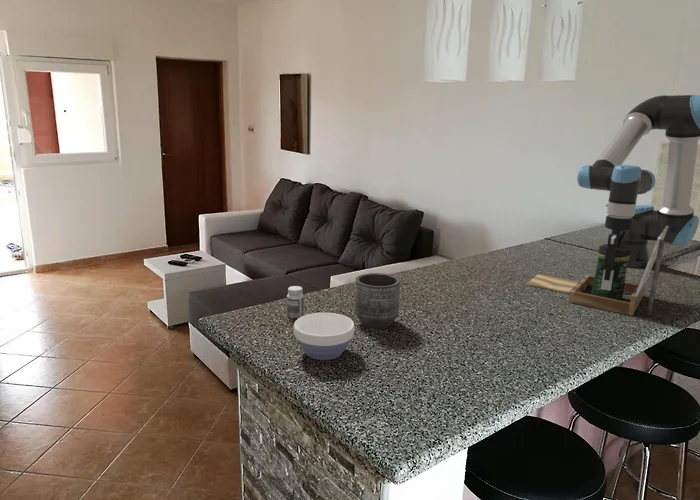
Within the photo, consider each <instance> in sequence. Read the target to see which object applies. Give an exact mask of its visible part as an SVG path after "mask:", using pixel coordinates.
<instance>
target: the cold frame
mask: <svg viewBox="0 0 700 500" xmlns="http://www.w3.org/2000/svg"><path fill="white" fill-rule="evenodd" d="M667 229H668V226H666V227H665V229H664V230H663V231H662V233H661V234H660V236H659V237H658V239H657V241H655V244H654V246H653V249H652V252H651V254H650V255H649V258H650V259H649V261H648V264H647V266H646V267H645V270H644V272H643V274H642V276H641V279H640V281H639V283H633V282H627V281H625V283H624V292H623V294H627V295H631V296H630V301H629V302H628V301H625V300H615V299H610V298H605V297H600V296H595V295H591V294H589V293H584V291H585V290H586V289H587V288H588V287H590V288H593V283H594V279H595V275H594V276H593V275H589V274H586V275H584V277H583V278H582V279H581V280H580V281H578V282H579V283H578V284H577V285H576V286H575V287H574V288H573V289H572V290H571V291H570V293H569V296H568V303H571V304H575V305H576V304H577V305H581V306H584V307H585V306H586V307H591V308H594V309H599V310H603V311H609V312H613V313H618V314H622V315H627V316H633V315H634V314H635V312H636V310H637V308H638V306H639V304H640V303H641V301H642V299H643V297H644V293H645V289H646V285H647V283H646V282H647V280H648V279H649V276H650V273H651V271H652V268H653V266H654V271H653V276H652V282H651V288H650V293H649V297H648V298H649V299H648V305H647V310H646V316H647V317H652V314H653V313H652V311H653V306H654V302H655V295H656V291H657V286H658V285H657V284H658V280H659V275H660V274H659V273H660V268H661V264H662V257H663V252H664V248H665V243H664V242H665V240H663V239H664V236H665V234H666V231H667ZM654 264H655V265H654Z"/></svg>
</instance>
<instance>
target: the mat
mask: <svg viewBox="0 0 700 500" xmlns="http://www.w3.org/2000/svg"><path fill="white" fill-rule="evenodd" d="M579 282H580V281H577V280H572V279H568V278H562V277H556V276H551V275H546V274H542V273H541V274H540V273H537V274H536V275H535V276H534V277H532V279H530V280H529V281H527V282H526V283H525V286H529V287H533V288H537V289H544V290H549V291H553V292H558V293H563V294H569V295H570V291H571V290H572V289H573V288H574V287H575V286H576V285H577V284H578V283H579Z"/></svg>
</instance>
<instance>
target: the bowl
mask: <svg viewBox="0 0 700 500" xmlns="http://www.w3.org/2000/svg"><path fill="white" fill-rule="evenodd" d="M355 328H356V327H355V323H354V321H353V319H351V318H350V317H348V316H346V315H343V314H339V313H334V312H314V313H309V314H304V316H302V317H300V318H297V320H295V321H294V324H293V333H294V336H295V339H296V341H297V343H298V344H299V346H300V347H301V349H302V350H303V351H304V352H305V354H306V356H307V357H309V358H310V359H314V360H316V361H317V360H318V361H331V360H335V359H337V358H339V357H341V356H342V354H343V352H344V351H345V350H346V349H347V348H348V346H349V344H350V343H351V341H352V340H353V338H354V334H355Z"/></svg>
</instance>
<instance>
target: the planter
mask: <svg viewBox="0 0 700 500" xmlns="http://www.w3.org/2000/svg"><path fill="white" fill-rule="evenodd" d="M354 287H355V290H354V313H355V315H356V317H357V319H358V321H359V322H360V324H361V325H362V326H363V327H364V328H367V327H368V328H367V329H370V328H372V329H371V330H384V328H385V329H387V328H389V327H391V326H392V325H393V323H394V322H395V320H396V319H397V317H398V316H399V314H400V296H401V295H400V293H401V280H400V278H399V277H397V276H395V275H392V274H388V273H383V272H382V273H380V272H369V273H364V274H360V275H358V276H356V278H355V286H354Z"/></svg>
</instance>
